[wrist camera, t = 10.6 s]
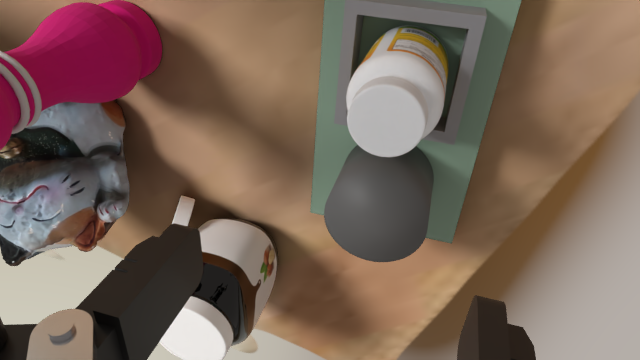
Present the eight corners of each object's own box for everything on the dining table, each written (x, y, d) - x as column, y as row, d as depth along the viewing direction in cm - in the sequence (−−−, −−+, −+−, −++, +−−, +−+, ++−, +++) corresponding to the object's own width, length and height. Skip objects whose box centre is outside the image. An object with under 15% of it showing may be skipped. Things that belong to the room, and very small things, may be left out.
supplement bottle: (383, 111, 33) (355, 180, 25) (356, 40, 31) (316, 89, 23) (459, 89, 30) (454, 157, 23) (435, 10, 28) (421, 54, 20)
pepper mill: (76, 1, 37) (-232, 79, 21) (148, -15, 35) (-137, 58, 18) (112, 86, 41) (-129, 210, 24) (180, 76, 38) (-37, 207, 22)
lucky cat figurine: (118, 63, 39) (76, 197, 31) (165, 151, 49) (142, 271, 41) (-52, 76, 39) (-139, 213, 31) (28, 162, 49) (-21, 283, 41)
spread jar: (283, 290, 48) (237, 386, 39) (188, 271, 51) (123, 357, 41) (276, 196, 42) (220, 282, 32) (168, 180, 45) (86, 255, 35)
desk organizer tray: (335, -47, 30) (298, -33, 24) (524, -27, 28) (541, -6, 21) (316, 199, 41) (287, 256, 34) (452, 228, 39) (449, 295, 32)
